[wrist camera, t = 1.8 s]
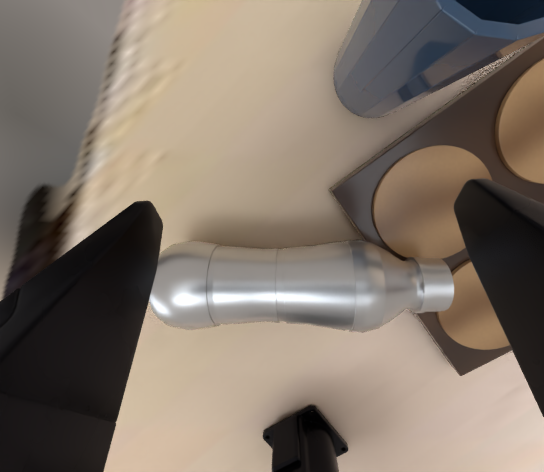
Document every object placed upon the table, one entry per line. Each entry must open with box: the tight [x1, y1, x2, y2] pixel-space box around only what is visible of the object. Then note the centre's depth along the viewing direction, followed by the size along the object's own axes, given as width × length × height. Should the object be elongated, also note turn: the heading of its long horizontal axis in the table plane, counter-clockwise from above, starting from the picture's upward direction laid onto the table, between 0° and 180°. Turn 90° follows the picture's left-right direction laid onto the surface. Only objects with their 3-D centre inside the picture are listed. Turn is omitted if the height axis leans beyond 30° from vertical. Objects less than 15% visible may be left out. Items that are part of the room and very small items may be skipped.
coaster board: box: [329, 36, 544, 376], centre depth 20 cm, size 20×20×2 cm
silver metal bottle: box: [149, 240, 454, 333], centre depth 19 cm, size 6×7×20 cm
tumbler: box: [334, 0, 544, 118], centre depth 13 cm, size 6×6×12 cm
